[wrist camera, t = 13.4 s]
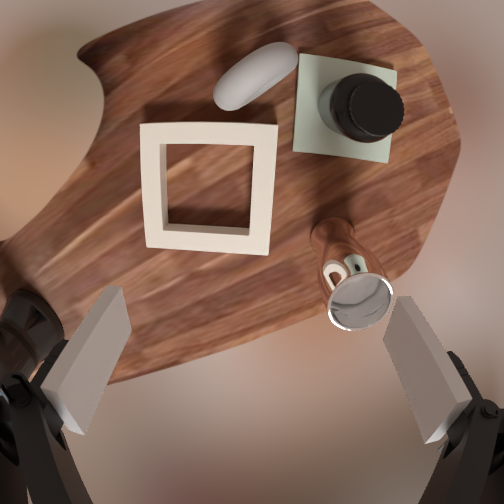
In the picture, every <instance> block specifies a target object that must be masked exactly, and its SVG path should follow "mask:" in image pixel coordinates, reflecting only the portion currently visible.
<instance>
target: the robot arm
mask: <svg viewBox="0 0 504 504" xmlns="http://www.w3.org/2000/svg"><path fill="white" fill-rule="evenodd" d="M131 332H132V330H131V326H130V321H129V317H128V313H127V309H126V304H125V300H124V295H123V290H122V286H111V285H108V286H107V287H106V288H105V290H104V291H103V292H102V294H101V295H100V297H99V298H98V299H97V301H96V302H95V304H94V305H93V306H92V308H91V309H90V311H89V312H88V314H87V315H86V316H85V318H84V319H83V321H82V322H81V324H80V325H79V327H78V328H77V330H76V331H75V333H74V334H73V336H72V337H71V339H70V340H65V339H64V331H63V328H62V325H61V323H60V321H59V319H58V317H57V316H56V314H55V313H54V312H53V310H52V309H51V308H50V307H49V306H48V305H47V304H46V303H45V302H44V301H43V300H42V299H41V298H40V297H38V296H37V295H35V294H34V293H32V292H29V291H26V290H17V291H15V292H14V293H13V294H12V295H11V296H10V297H9V298H8V300H7V302H6V305H5V308H4V310H3V312H2V314H1V316H0V504H28V497H27V488H28V491H29V494H30V497H31V500H32V503H33V504H93V503H92V501H91V498H90V497H89V494H88V492H87V490H86V488H85V486H84V484H83V481H82V480H81V477H80V475H79V472H78V470H77V468H76V465H75V463H74V460H73V458H72V455H71V453H70V451H69V448H68V445H67V442H66V439H65V436H64V433H63V432H62V430H61V428H62V425H63V423H64V424H65V425H66V426H67V428H68V429H69V430H70V431H72V432H76V433H79V434H82V435H86V432H87V430H88V427H89V425H90V422H91V420H92V417H93V415H94V413H95V410H96V408H97V406H98V403H99V401H100V399H101V396H102V394H103V392H104V390H105V387H106V385H107V383H108V381H109V378H110V376H111V374H112V372H113V370H114V367H115V365H116V363H117V361H118V359H119V357H120V355H121V353H122V350H123V348H124V346H125V344H126V342H127V340H128V338H129V336H130V334H131ZM383 341H384V343H385V346H386V348H387V350H388V352H389V355H390V357H391V359H392V362H393V364H394V366H395V369H396V371H397V373H398V376H399V378H400V380H401V383H402V385H403V388H404V390H405V393H406V396H407V398H408V400H409V403H410V406H411V408H412V411H413V414H414V416H415V419H416V421H417V424H418V427H419V430H420V432H421V435H422V438H423V441H424V443H425V444H426V443H429V442H433V441H437V440H440V439H441V437H442V436H443V435H444V434H445V433H446V432H447V434H448V437H449V438H448V439H447V440H446V441H445V442H444V443H443V444H442V446H441V447H440V448H439V449H438V451H437V452H440V451H441V450H442V449H443V450H442V453H441V455H440V457H439V460H438V462H437V465H436V467H435V470H434V472H433V474H432V476H431V479H430V481H429V483H428V485H427V487H426V489H425V491H424V493H423V495H422V498H421V499H420V501H419V503H418V504H504V409H499V408H498V406H497V405H496V404H495V403H494V402H492V401H491V400H487V399H483V398H482V397H481V394H480V393H479V391H478V389H477V387H476V386H475V384H474V382H473V380H472V378H471V377H470V375H468V372H467V370H466V369H465V368H464V365H463V363H462V362H461V360H460V358H459V357H457V356H456V355H455V354H454V353H453V352H452V351H448V352H446V351H445V349H444V347H443V346H442V344H441V342H440V341H439V339H438V338H437V336H436V335H435V333H434V331H433V330H432V328H431V327H430V325H429V323H428V322H427V321H426V319H425V317H424V316H423V314H422V313H421V311H420V310H419V308H418V307H417V305H416V304H415V302H414V301H413V299H412V298H411V296H407V297H406V296H401V297H397V300H396V303H395V306H394V309H393V312H392V315H391V318H390V321H389V324H388V327H387V330H386V333H385V335H384V338H383ZM43 360H44V363H42V365H41V367H40V368H39V370H38V371H37V373H36V374H35V376H34V378H33V379H32V381H31V382H30V383H29V381H28V379H29V378H30V376H31V374H32V373H33V371H34V370H35V368H36V367H37V365H38V364H39V363H40V362H42V361H43ZM26 485H27V486H26Z"/></svg>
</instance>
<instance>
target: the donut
mask: <svg viewBox="0 0 504 504" xmlns="http://www.w3.org/2000/svg"><path fill="white" fill-rule="evenodd" d="M297 64H298V54H297V52H296V50H295V49H294V47H292V46H291V45H290V44H288V43H285V42H275V43H270V44H268V45H265V46H263V47H261V48H259V49H257V50H255V51H253V52H252V53H250V54H249V55H247V56H246V57H244V58H243V59H242V60H240V61H239V62H238V63H236V64H235V65H234V66H233V67H232V68H230V69H229V70H228V71H227V72H226V73H225V74H224V75H223V76H222V77H221V78H220V80H219V81H218V82H217V84H216V86H215V88H214V91H213V97H214V101H215V103H216V104H217V106H219V107H220V108H221V109H223V110H226V111H232V110H237V109H239V108H241V107H243V106H244V105H246V104H248V103H249V102H251V101H252V100H254V99H255V98H257V97H258V96H260V95H261V94H263V93H264V92H265V91H267V90H268V89H270V88H271V87H272V86H274V85H275V84H276V83H278V82H279V81H280V80H282V79H283V78H284V77H286V76H287V75H288V74H289V73H290V72H291V71H292V70H293V69H294V68H295V67H296V65H297Z"/></svg>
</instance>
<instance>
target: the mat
mask: <svg viewBox="0 0 504 504" xmlns="http://www.w3.org/2000/svg"><path fill="white" fill-rule="evenodd" d="M356 73H367V74H371V75H374V76H376V77H378V78H380V79H382V80H383V81H384V82H386V83H387V84H388V85H389V86H392V87H393V89H395V90H396V81H397V71H394V70H390V69H386V68H382V67H378V66H373V65H369V64H364V63H359V62H354V61H349V60H343V59H337V58H331V57H325V56H317V55H310V54H301V53H300V54H299V63H298V79H297V95H296V109H295V123H294V136H293V149H292V150H293V151H296V152H307V153H316V154H325V155H334V156H341V157H349V158H356V159H363V160H370V161H376V162H382V163H388V159H389V152H390V144H391V136H392V133H391V134H390V135H388V136H387V137H386V138H384V139H382V140H380V141H378V142H374V143H361V142H357V141H354V140H351V139H349V138H347V137H344V136H342V135H340V134H337V133H335V132H334V131H332V130H330V129H329V128H328V127H327V126H326V125H325V124H324V122H323V121H322V119H321V117H320V115H319V111H318V100H319V96H320V94H321V92H322V90H323V89H324V88H325V87H326V86H327V85H328V84H330V83H331V82H333V81H336V80H338V79H340V78H343V77H346V76H348V75H351V74H356Z"/></svg>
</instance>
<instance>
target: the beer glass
mask: <svg viewBox="0 0 504 504" xmlns="http://www.w3.org/2000/svg"><path fill="white" fill-rule="evenodd" d="M310 240H311V246H312V248H313V250H314V252H315V253H316V254H317V256H318V265H317V276H318V284H319V289H320V293H321V296H322V299H323V302H324V304H325V307H326V309H327V312H328V315H329V318H330V319H331V321H332V322H333V323H334V324H335V325H336V326H338V327H339V328H342V329H344V330H349V331H359V330H364V329H367V328H370V327H372V326H374V325H376V324H377V323H379V322H380V321H381V320H383V319H384V318H385V316H386V315H387V314H388V313H389V311H390V309H391V307H392V305H393V301H394V290H393V287H392V285H391V283H390V282H389V279H388V277H387V275H386V273H385V270H384V269H383V267H382V265H381V263H380V262H379V260H378V259H377V257H376V256H375V255H374V253H373V252H372V251H371V250H370V249H368V248H367V247H366V246H365V245H364V244H363V243H361V242H360V241H359V240H357V239H356V237H355V232H354V229H353V227H352V226H351V224H350V223H349V222H348V221H346V220H344V219H342V218H339V217H329V218H326V219H323V220H322V221H320V222H319V223H318V224H317V225H316V226H315V227H314V229H313V231H312V233H311V239H310Z"/></svg>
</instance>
